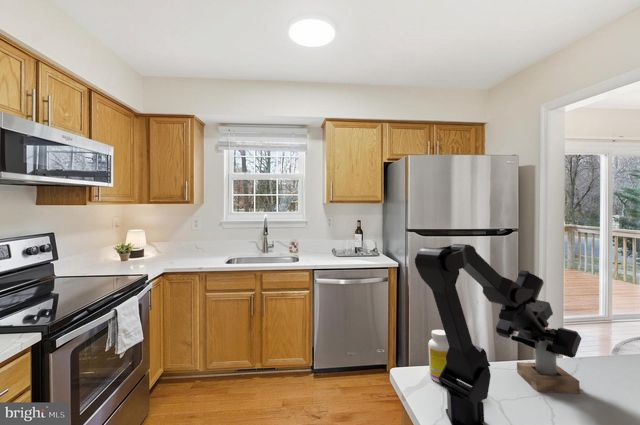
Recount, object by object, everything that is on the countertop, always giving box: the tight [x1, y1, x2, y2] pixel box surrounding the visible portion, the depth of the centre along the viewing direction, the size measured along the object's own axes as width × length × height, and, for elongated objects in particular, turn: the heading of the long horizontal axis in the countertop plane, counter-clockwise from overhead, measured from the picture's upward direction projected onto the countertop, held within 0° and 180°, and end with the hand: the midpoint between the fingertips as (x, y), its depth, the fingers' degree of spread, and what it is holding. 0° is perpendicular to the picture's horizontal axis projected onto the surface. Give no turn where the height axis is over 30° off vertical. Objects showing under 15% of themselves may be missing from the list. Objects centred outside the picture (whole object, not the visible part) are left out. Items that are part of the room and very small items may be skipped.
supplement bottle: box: [427, 329, 449, 384], centre depth 87 cm, size 7×7×13 cm
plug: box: [534, 327, 557, 376], centre depth 83 cm, size 5×5×14 cm
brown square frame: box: [516, 361, 581, 394], centre depth 83 cm, size 10×10×3 cm
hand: (548, 351), depth 84 cm, fingers closed on plug, 5 cm apart
